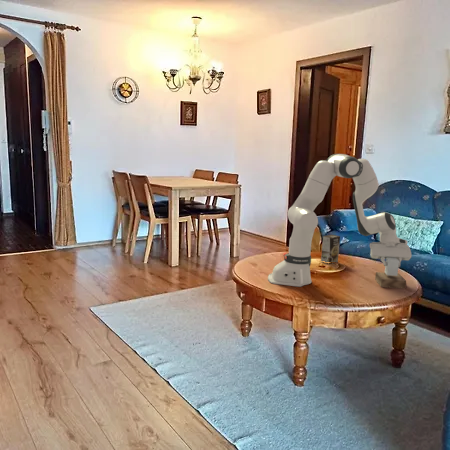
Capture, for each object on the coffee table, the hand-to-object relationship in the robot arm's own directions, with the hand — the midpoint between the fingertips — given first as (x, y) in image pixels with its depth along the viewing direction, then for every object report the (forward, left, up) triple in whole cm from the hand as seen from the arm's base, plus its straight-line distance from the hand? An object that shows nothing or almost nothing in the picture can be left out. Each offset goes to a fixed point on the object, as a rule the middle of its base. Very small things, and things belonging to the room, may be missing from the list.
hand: (392, 266), depth 221 cm
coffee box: (-26, +35, -10) cm, 44 cm away
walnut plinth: (0, +1, -10) cm, 10 cm away
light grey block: (0, +1, -4) cm, 4 cm away
